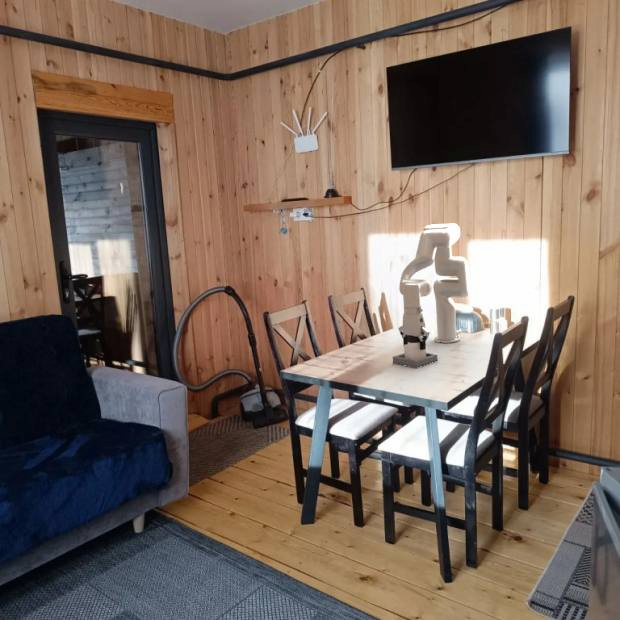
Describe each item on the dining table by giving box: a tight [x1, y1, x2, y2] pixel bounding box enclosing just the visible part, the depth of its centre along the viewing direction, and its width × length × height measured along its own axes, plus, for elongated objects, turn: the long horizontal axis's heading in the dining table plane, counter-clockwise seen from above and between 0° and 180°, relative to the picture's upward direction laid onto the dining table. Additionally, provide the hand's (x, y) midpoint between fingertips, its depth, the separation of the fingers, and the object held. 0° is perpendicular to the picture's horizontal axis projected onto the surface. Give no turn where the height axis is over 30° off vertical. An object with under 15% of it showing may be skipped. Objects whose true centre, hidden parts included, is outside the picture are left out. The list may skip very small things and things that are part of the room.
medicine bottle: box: [403, 335, 427, 361], centre depth 261 cm, size 7×7×12 cm
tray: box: [392, 352, 439, 369], centre depth 262 cm, size 14×14×3 cm
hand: (414, 347), depth 261 cm, fingers open, 9 cm apart
